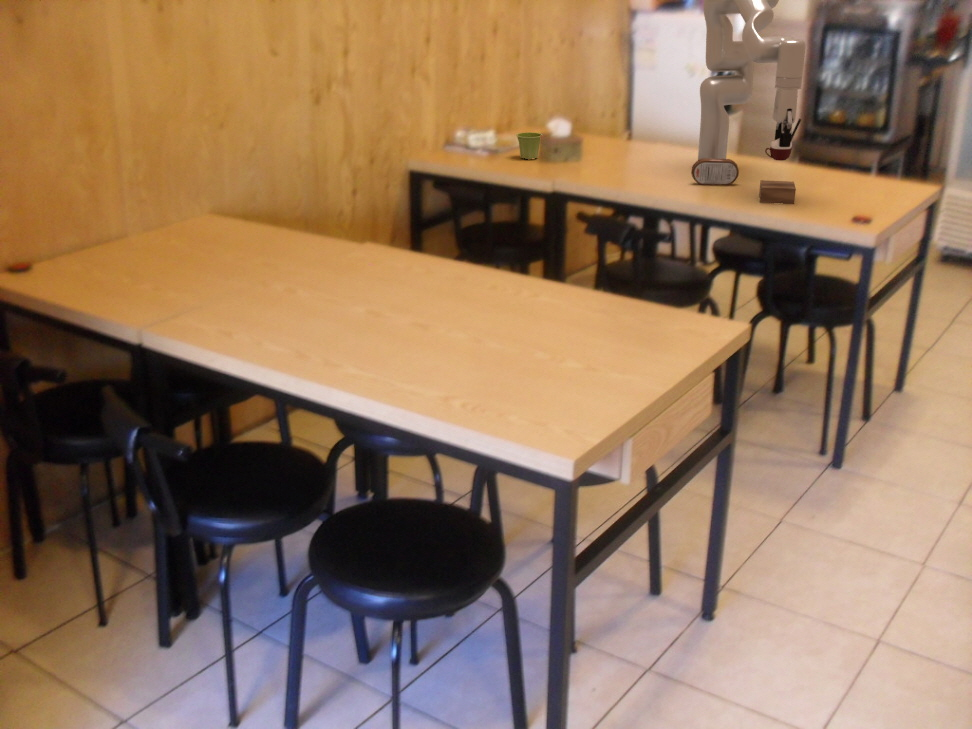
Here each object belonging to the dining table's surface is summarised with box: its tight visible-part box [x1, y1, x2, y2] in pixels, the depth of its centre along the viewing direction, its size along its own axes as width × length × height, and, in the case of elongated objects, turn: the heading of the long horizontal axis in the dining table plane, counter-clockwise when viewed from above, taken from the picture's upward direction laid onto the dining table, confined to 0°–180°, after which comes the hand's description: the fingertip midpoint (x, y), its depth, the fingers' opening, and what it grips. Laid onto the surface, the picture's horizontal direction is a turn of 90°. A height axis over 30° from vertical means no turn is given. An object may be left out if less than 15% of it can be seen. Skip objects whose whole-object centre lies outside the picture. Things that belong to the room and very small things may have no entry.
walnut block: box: [758, 179, 797, 205], centre depth 317 cm, size 10×10×5 cm
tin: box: [690, 158, 740, 186], centre depth 335 cm, size 15×3×8 cm, turn 84°
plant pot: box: [516, 131, 543, 160], centre depth 375 cm, size 9×9×9 cm
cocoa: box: [764, 118, 802, 162], centre depth 310 cm, size 10×6×12 cm, turn 62°
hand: (782, 144), depth 311 cm, fingers closed on cocoa, 5 cm apart
